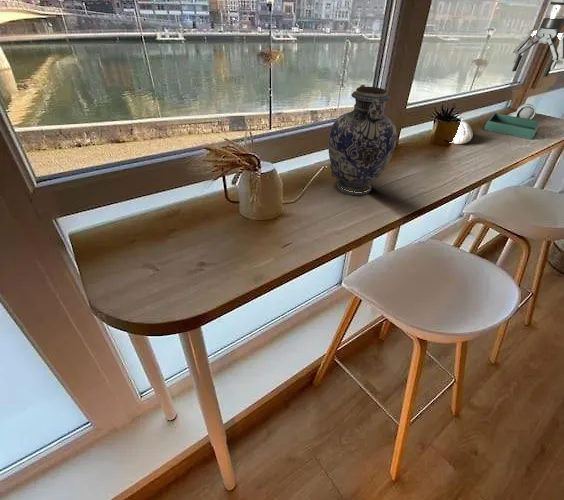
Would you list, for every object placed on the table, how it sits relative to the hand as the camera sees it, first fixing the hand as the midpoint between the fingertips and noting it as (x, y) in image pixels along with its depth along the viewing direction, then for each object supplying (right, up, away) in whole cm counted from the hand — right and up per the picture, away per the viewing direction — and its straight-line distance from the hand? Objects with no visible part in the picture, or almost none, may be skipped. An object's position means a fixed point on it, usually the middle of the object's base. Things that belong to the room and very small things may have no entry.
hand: (529, 73), depth 151 cm
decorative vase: (-93, -63, -50) cm, 123 cm away
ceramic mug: (+5, -16, +14) cm, 22 cm away
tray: (-8, -26, +1) cm, 27 cm away
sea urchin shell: (-42, -35, -13) cm, 57 cm away
